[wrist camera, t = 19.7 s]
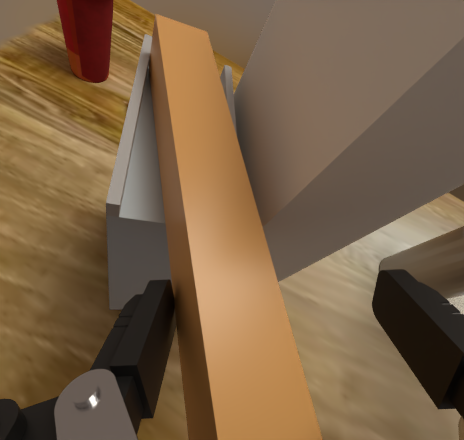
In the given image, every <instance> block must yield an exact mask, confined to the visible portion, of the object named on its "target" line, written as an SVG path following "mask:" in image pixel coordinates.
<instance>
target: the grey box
mask: <svg viewBox="0 0 464 440" xmlns="http://www.w3.org/2000/svg"><path fill="white" fill-rule="evenodd" d="M151 43H152V37H151V36H149V35H146V34H145V37H144V41H143V45H142V50H141V54H140V58H139V63H138V67H137V71H136V75H135V80H134V84H133V88H132V93H131V97H130V101H129V106H128V110H127V114H126V119H125V123H124V127H123V132H122V136H121V140H120V145H119V149H118V153H117V158H116V162H115V166H114V170H113V175H112V179H111V183H110V188H109V192H108V196H107V201H106V219H107V249H108V279H109V309H113V310H122V309H123V307H124V305H125V304H126V303H127V302H128V301H129V300H130V299H131V298H132V297H133V296H135V295H136V294H143V293H144V291H145V289H146V286H147V284H148V282H149V281H150V280H167V279H170V280H171V283H172V279H171V270H170V261H169V252H168V242H167V233H166V224H165V215H164V205H163V196H162V187H161V178H160V168H159V159H158V150H157V141H156V131H155V122H154V113H153V104H152V94H151V85H150V76H149V67H148V65H149V58H150V51H151ZM220 79H221V82H222V86H223V90H224V93H225V97H226V100H227V104H228V107H229V111H230V114H231V118H232V121H233V125H234V128H235V132H236V135H237V130H236V118H235V106H234V94H233V82H232V70H231V67H229V66H226V65H225V66H224V68H223V71H222V74H221V77H220Z"/></svg>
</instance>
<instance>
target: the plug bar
mask: <svg viewBox="0 0 464 440" xmlns="http://www.w3.org/2000/svg"><path fill="white" fill-rule="evenodd" d="M148 67H149V76H150V85H151V94H152V104H153V113H154V122H155V131H156V141H157V150H158V159H159V168H160V178H161V187H162V196H163V205H164V215H165V224H166V233H167V242H168V252H169V261H170V270H171V279H172V288H173V294H174V302H175V316H176V326H177V335H178V344H179V353H180V363H181V372H182V381H183V390H184V400H185V409H186V418H187V427H188V437H189V440H323V439H322V435H321V432H320V428H319V425H318V421H317V418H316V414H315V411H314V407H313V404H312V400H311V397H310V393H309V390H308V386H307V382H306V379H305V375H304V372H303V368H302V365H301V361H300V358H299V354H298V351H297V347H296V344H295V340H294V337H293V333H292V330H291V326H290V322H289V319H288V315H287V312H286V308H285V305H284V301H283V298H282V294H281V291H280V287H279V284H278V280H277V277H276V273H275V270H274V266H273V262H272V259H271V255H270V252H269V248H268V245H267V241H266V238H265V234H264V231H263V227H262V224H261V220H260V217H259V213H258V210H257V206H256V202H255V199H254V195H253V192H252V188H251V185H250V181H249V178H248V174H247V171H246V167H245V164H244V160H243V157H242V153H241V150H240V146H239V142H238V139H237V135H236V132H235V128H234V125H233V121H232V118H231V114H230V111H229V107H228V104H227V100H226V97H225V93H224V90H223V86H222V82H221V79H220V75H219V72H218V68H217V65H216V61H215V58H214V54H213V51H212V47H211V44H210V40H209V37H208V33H207V32H206V31H203V30H200V29H198V28H195V27H192V26H189V25H186V24H183V23H180V22H178V21H175V20H172V19H169V18H166V17H163V16H160V15H157V14H156V15H155V22H154V29H153V36H152V43H151V51H150V58H149V65H148Z"/></svg>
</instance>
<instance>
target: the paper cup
mask: <svg viewBox="0 0 464 440" xmlns="http://www.w3.org/2000/svg"><path fill="white" fill-rule="evenodd" d="M57 4H58V8H59V14H60V19H61V24H62V29H63V33H64V38H65V43H66V48H67V53H68V57H69V62H70V66H71V70H72V72H73V73H74V74H75V75H76V76H77V77H78V78H80V79H82V80H84V81H88V82H93V83H99V82H103V81H105V80H106V79H107V78H108V75H109V63H110V48H111V32H112V19H113V0H57Z"/></svg>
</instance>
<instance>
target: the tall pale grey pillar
mask: <svg viewBox="0 0 464 440" xmlns="http://www.w3.org/2000/svg"><path fill="white" fill-rule="evenodd" d="M234 106H235V118H236V130H237V139H238V142H239V146H240V150H241V153H242V157H243V160H244V164H245V167H246V171H247V174H248V178H249V181H250V185H251V188H252V192H253V195H254V199H255V202H256V206H257V210H258V213H259V217H260V220H261V224H262V227H263V231H264V234H265V238H266V241H267V245H268V248H269V252H270V255H271V259H272V262H273V266H274V270H275V273H276V277H277V280H278V282H279V281H281V280H283V279H285V278H287V277H289V276H291V275H292V274H294V273H296V272H298V271H300V270H302V269H304V268H306V267H308V266H309V265H311V264H313V263H315V262H317V261H319V260H321V259H323V258H325V257H326V256H328V255H330V254H332V253H334V252H336V251H338V250H340V249H342V248H344V247H345V246H347V245H349V244H351V243H353V242H355V241H357V240H359V239H361V238H362V237H364V236H366V235H368V234H370V233H372V232H374V231H376V230H378V229H379V228H381V227H383V226H385V225H387V224H389V223H391V222H393V221H395V220H396V219H398V218H400V217H402V216H404V215H406V214H408V213H410V212H412V211H414V210H415V209H417V208H419V207H421V206H423V205H425V204H427V203H429V202H431V201H432V200H434V199H436V198H438V197H440V196H442V195H444V194H446V193H448V192H449V191H451V190H453V189H455V188H457V187H459V186H461V185H463V184H464V0H276V1H275V3H274V5H273V7H272V10H271V12H270V14H269V16H268V19H267V21H266V23H265V26H264V28H263V30H262V32H261V34H260V37H259V39H258V41H257V43H256V46H255V48H254V50H253V53H252V55H251V57H250V59H249V61H248V64H247V66H246V68H245V70H244V73H243V75H242V77H241V79H240V82H239V84H238V86H237V88H236V91H235V93H234Z"/></svg>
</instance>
